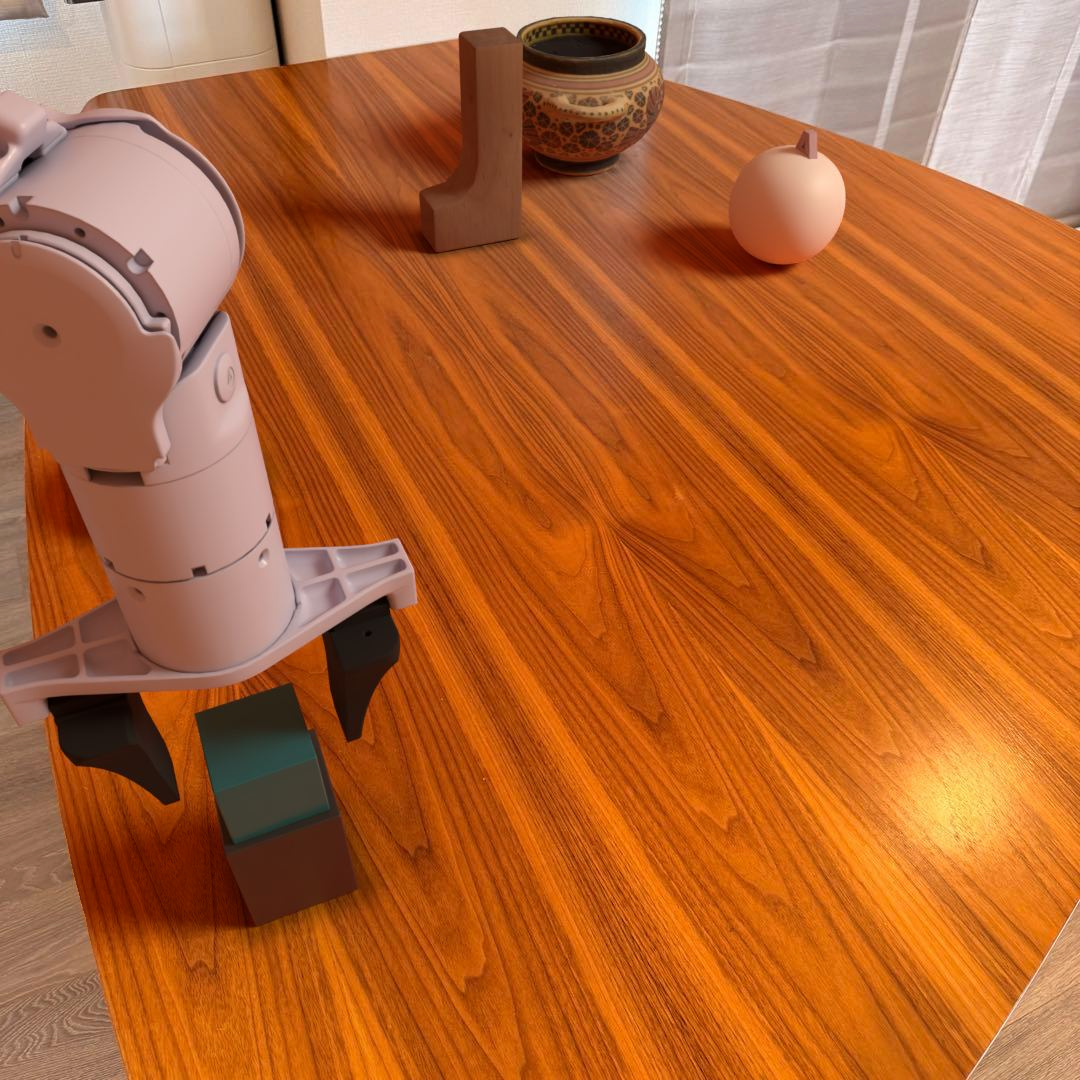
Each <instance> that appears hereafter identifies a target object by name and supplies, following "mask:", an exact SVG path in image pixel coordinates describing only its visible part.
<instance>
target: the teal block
mask: <svg viewBox="0 0 1080 1080" xmlns="http://www.w3.org/2000/svg"><path fill="white" fill-rule="evenodd" d="M194 718H195V722H196V723H195V724H196V727H197V731H198V736H199V739H200V744H201V749H202V753H203V757H204V761H205V766H206V771H207V774H208V778H209V783H210V788H211V793H212V795H214V796H213V798H214V797H215V800H216V802H217V804H218V807H219V809H220V812H221V814H222V817H223V819H224V822H225V824H226V826H227V829H228V831H229V834H230V836H231V839H232V841H233V843H234V844H238V843H241V842H243V841H246V840H249V839H252V838H254V837H257V836H260V835H263V834H265V833H268V832H271V831H273V830H276V829H279V828H282V827H284V826H287V825H290V824H293V823H295V822H298V821H301V820H304V819H306V818H309V817H312V816H315V815H317V814H320V813H323V812H325V811H328V810H330V807H329V803H328V799H327V795H326V791H325V787H324V783H323V779H322V775H321V772H320V768H319V764H318V760H317V756H316V753H315V750H314V747H313V744H312V741H311V738H310V735H309V732H308V730H309V729H308V726H307V722H306V720H305V716H304V714H303V711H302V707H301V705H300V701H299V698H298V695H297V692H296V689H295V686H294V683H292V682H288V683H284V684H281V685H277V686H275V687H272V688H268V689H266V690H262V691H260V692H256V693H253V694H251V695H247V696H244V697H241V698H237V699H235V700H232V701H229V702H226V703H223V704H219V705H216V706H213V707H209V708H207V709H204V710H200V711H197V712H195V713H194Z"/></svg>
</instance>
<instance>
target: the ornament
mask: <svg viewBox="0 0 1080 1080" xmlns="http://www.w3.org/2000/svg"><path fill="white" fill-rule="evenodd" d="M846 194H847V193H846V187H845V183H844V179H843V177H842V174H841V172H840V170H839V169H838V167H837V166H836V164H835V163H834V162H833V161H831V159H829V157H827V156H826V155H824V154H823V153H822V152H820V151H818V131H816V130H815V129H812V128H810V129H804V130H803V131H802V133H801V135H800V137H799V139H798V141H797V142H796V145H795V144H787V145H779V146H775V147H771V148H769V149H766V150H764V151H762V152H760V153H759V154H757V155H756V156H754V157H753V158H752V159H750V160H749V161H748V163H747V164H745V166H744V167H743V169H742V170H741V171H740V173H739V174H738V176H737V177H736V179H735V182H734V184H733V186H732V189H731V191H730V196H729V201H728V220H729V225H730V229H731V231H732V234H733V236H734V238H735V239H736V241H737V243H738V244H739V245H740V246H741V248H742V249H743V250H744V251H745V252H747V253H748V254H749V255H751V256H752V257H753V258H755V259H757V260H760V261H762V262H765V263H768V264H774V265H794V264H798V263H801V262H804V261H807V260H809V259H811V258H813V257H814V256H816V255H818V254H819V253H820V252H822V251H823V250H824V249H825V248H826V246H828V245H829V243H830V242H831V241H832V240H833V238H834V237H835V235H836V234H837V232H838V230H839V228H840V226H841V223H842V220H843V217H844V214H845V209H846V201H847V200H846Z"/></svg>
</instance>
